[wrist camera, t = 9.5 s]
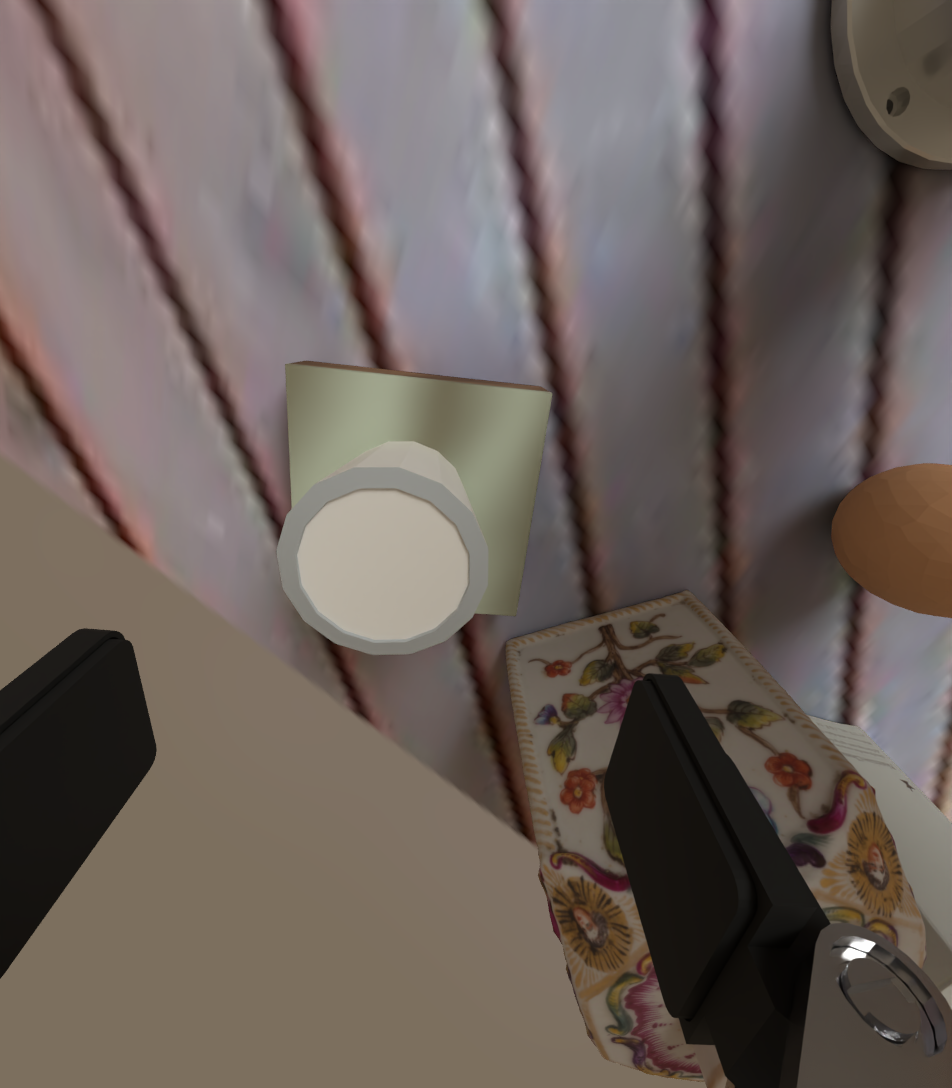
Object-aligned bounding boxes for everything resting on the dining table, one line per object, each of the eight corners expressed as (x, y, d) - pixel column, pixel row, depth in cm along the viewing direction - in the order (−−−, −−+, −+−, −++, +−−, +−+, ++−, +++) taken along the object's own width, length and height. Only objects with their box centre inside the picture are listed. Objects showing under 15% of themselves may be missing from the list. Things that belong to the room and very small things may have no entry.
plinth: (540, 386, 23) (552, 393, 20) (509, 588, 27) (515, 616, 25) (306, 360, 22) (285, 364, 19) (312, 573, 26) (296, 600, 24)
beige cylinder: (390, 593, 24) (367, 689, 17) (295, 482, 21) (227, 545, 15) (507, 520, 22) (529, 594, 16) (421, 393, 20) (406, 420, 14)
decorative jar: (542, 771, 33) (629, 1199, 17) (497, 637, 29) (556, 1044, 12) (714, 728, 32) (984, 1137, 16) (695, 583, 28) (1048, 943, 11)
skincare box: (858, 723, 33) (1147, 1001, 19) (808, 785, 35) (1035, 1073, 21) (753, 696, 31) (982, 974, 18) (707, 762, 34) (881, 1054, 20)
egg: (947, 458, 25) (1182, 516, 17) (883, 571, 28) (1060, 669, 20) (831, 437, 25) (1019, 487, 16) (776, 555, 27) (915, 650, 19)
